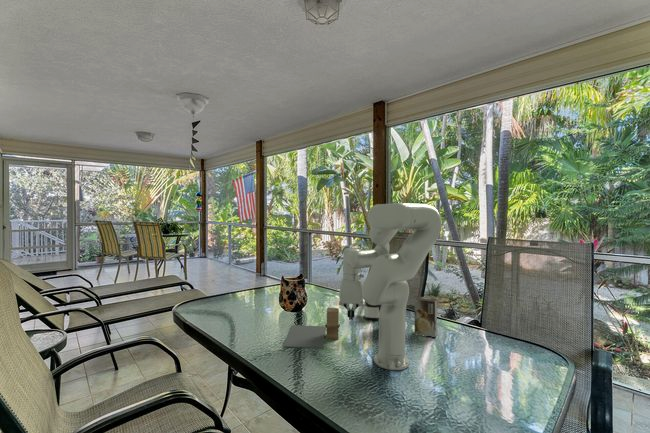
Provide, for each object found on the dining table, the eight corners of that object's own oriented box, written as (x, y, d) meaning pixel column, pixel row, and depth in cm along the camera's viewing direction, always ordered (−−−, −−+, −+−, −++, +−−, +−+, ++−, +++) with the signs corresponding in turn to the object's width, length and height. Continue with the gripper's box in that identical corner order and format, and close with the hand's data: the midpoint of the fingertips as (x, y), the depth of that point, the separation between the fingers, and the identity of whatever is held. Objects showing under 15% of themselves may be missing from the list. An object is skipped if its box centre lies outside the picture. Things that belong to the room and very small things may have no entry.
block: (338, 339, 137) (338, 311, 137) (326, 339, 137) (326, 311, 137) (338, 335, 142) (338, 308, 142) (327, 334, 142) (327, 307, 142)
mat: (323, 348, 128) (323, 347, 128) (283, 347, 128) (283, 346, 128) (325, 327, 152) (325, 326, 152) (292, 326, 152) (292, 325, 152)
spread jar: (380, 321, 160) (381, 298, 160) (358, 321, 161) (358, 298, 161) (377, 314, 172) (377, 292, 172) (356, 313, 173) (356, 292, 173)
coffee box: (437, 333, 145) (437, 298, 145) (435, 338, 140) (435, 301, 139) (416, 330, 149) (417, 295, 149) (413, 334, 144) (414, 299, 144)
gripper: (368, 275, 142) (367, 316, 142) (334, 274, 143) (333, 315, 143) (369, 279, 135) (368, 322, 135) (334, 278, 135) (333, 321, 136)
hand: (350, 318), depth 139 cm, fingers closed
